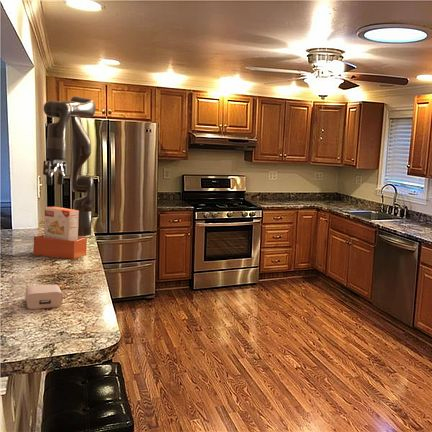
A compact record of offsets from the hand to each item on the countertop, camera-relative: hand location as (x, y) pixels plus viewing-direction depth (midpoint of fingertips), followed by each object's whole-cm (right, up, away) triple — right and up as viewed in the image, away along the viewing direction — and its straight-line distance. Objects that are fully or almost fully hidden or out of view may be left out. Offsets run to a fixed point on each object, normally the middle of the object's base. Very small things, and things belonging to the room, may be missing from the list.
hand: (54, 184), depth 204 cm
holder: (+1, -31, +4) cm, 31 cm away
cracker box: (+1, -31, +3) cm, 31 cm away
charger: (+26, -41, -58) cm, 75 cm away
